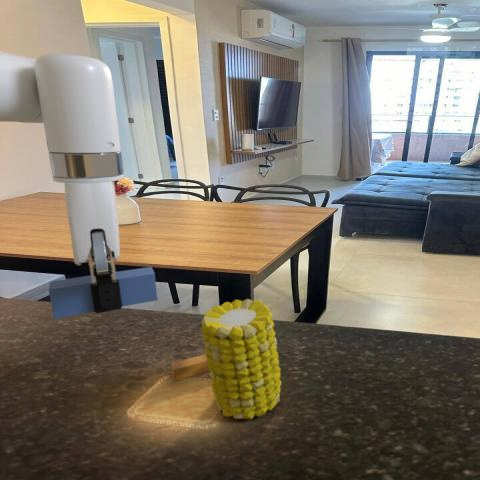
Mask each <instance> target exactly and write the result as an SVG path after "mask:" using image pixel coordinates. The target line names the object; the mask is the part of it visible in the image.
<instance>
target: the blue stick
mask: <svg viewBox="0 0 480 480" xmlns="http://www.w3.org/2000/svg"><path fill="white" fill-rule="evenodd" d="M111 277H112V276H111ZM116 279H119V286H120V293H121V301H122V308H123V307H128V306H133V305H139V304H144V303H150V302H155V301H158V292H157V283H156V274H155V270H154V269H153V267H152V266H148V267H141V268H134V269H128V270H121V271H120V270H119V271H117V272H116ZM91 283H92V280H91V276H90V275H85V276H79V277H72V278H64V279H59V280H58V279H57V280H51V281H50V283H49V287H48V293H49V294H48V295H49V298H50V305H51V309H52V315H53V319H54V320H57V319H62V318H68V317H73V316H78V315H79V316H80V315H84V314H90V313H95V311H94V306H93V299H92V293H91V286H90V284H91Z"/></svg>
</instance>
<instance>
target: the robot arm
mask: <svg viewBox="0 0 480 480" xmlns="http://www.w3.org/2000/svg"><path fill="white" fill-rule="evenodd" d="M114 89H115V88H114V80H113V75H112V72H111V69H110V68H109V66H108V65H107V63H105V62H104V61H102V60H100V59H98V58H96V57H95V58H94V57H90V56H85V55H79V54H71V53H46V54H42V55H40V56H38V57H37V58H33V57H29V56H24V55H19V54H15V53H11V52H5V51H0V122H1V123H2V122H3V123H4V122H5V123H6V122H7V123H8V122H9V123H24V124H27V123H28V124H31V123H32V124H43V128H44V134H45V139H46V145H47V151H48V158H49V164H50V169H51V175H52V181H53V182H56V183H62V184H64V196H65V197H64V198H65V206H66V215H67V221H68V227H69V233H70V240H71V246H72V254H73V255H72V256H73V263H74V264H75V265H77V266H82V264H83V263H87V260H88V266H89V272H90V274H89V276H91V280H92V283H91V284H90V286H91V293H92V299H93V306H94V311H95V312H94V313H95V314H101V313H107V312H111V311H117V310H122V308H123V307H122V301H121V293H120V286H119V279H116V272H118V270H117V269H116V265H115V264H116V263H115V262H116V261H117V260H119V259H120V256H121V255H120V247H121V246H120V227H119V214H118V204H117V196H116V188H115V187H116V186H115V182H116V181H120V180H124V179H125V173H124V165H123V158H122V157H123V156H122V152H121V151H122V148H121V139H120V132H119V131H120V130H119V121H118V115H117V107H116V98H115V90H114ZM111 276H112V277H111Z"/></svg>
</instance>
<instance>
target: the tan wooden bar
mask: <svg viewBox="0 0 480 480" xmlns="http://www.w3.org/2000/svg"><path fill="white" fill-rule="evenodd" d="M206 358H207V357H206V353H205V354H204V353H203V354H201V355H197V356H192V357H190V358H189V357H188V358H185V359H182V360H177V361H174V362H170V370H171V376H172V380H173V382H176V381H180V380H183V379H186V378H190V377H194V376H198V375H200V374H205V373H208V372H210V369H209V367H208V365H207V364H208V361H207V359H206Z"/></svg>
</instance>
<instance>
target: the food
mask: <svg viewBox="0 0 480 480" xmlns="http://www.w3.org/2000/svg"><path fill="white" fill-rule="evenodd" d="M273 318H274V314H273V313H272V312H271V310H270V308H269V306H268V305H266V304H263V301H262V300H258V299H255V300H254V301H253V300H252V299H249V298H246V299H244V300H240V299H234V300H232V302H230V301H225V302H223V303H222V304H221V305H213V308H212V309H211V310H210V309H209V310H208V311H207V312H206V313H205V314H204V316H203V318H202V319H201V333H202V339H203V349H204V352H205V354H206V357H207V358H206V359H207V361H208V364H207V365H208V367H209V369H210V371H209V373H208V376H209V377H210V378H211V379H210V380H211V389H212V391H213V396H214V398H215V404H216V407H217V410H218V411H222V415H223V416H225V417H227V418H231V417H233V419H235V420H241V419H243V420H252V419H253V418H254V417H255V416H256V417H257V418H259V417H263V416H265V415H266V413H267V411H272V410H273V408H275V407H276V405H277V404H278V403H279V402H281V399H280V398H281V397H280V396H281V395H280V392H281V391H282V390H281V386H282V381H281V375H282V373H281V370H282V369H281V368H280V360H279V357H280V356H279V352H278V351H277V349H278V347H277V345H278V341H277V338H276V331H275V330H274V328H275V324H274V323H275V322H274V320H273Z"/></svg>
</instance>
